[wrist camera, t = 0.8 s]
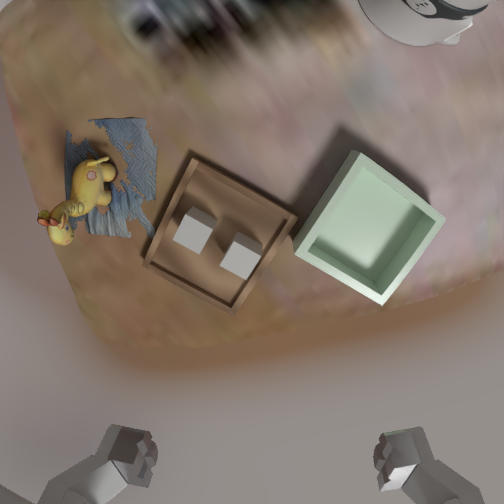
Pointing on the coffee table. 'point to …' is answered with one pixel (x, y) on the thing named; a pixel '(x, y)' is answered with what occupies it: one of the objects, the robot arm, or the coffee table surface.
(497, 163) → the coffee table surface
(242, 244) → the stone cube
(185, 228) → the stone cube
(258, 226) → the walnut tray
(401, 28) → the robot arm
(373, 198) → the green bin
